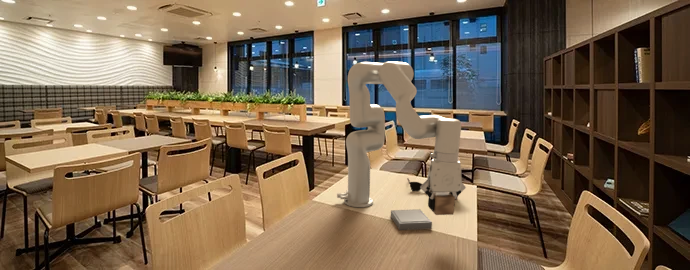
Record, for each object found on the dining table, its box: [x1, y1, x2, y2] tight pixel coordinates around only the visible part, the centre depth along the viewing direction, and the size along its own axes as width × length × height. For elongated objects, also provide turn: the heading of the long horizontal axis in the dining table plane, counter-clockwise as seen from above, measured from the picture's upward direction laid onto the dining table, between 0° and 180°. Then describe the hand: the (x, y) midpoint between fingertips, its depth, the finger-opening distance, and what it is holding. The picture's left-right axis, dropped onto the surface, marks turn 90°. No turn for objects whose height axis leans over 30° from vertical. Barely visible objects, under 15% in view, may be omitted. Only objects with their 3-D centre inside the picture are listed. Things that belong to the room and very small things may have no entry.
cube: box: [432, 192, 456, 216], centre depth 109 cm, size 6×6×6 cm
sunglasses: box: [406, 177, 430, 192], centre depth 166 cm, size 14×16×5 cm
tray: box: [390, 208, 433, 231], centre depth 123 cm, size 12×12×3 cm
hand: (441, 208), depth 109 cm, fingers closed on cube, 6 cm apart
